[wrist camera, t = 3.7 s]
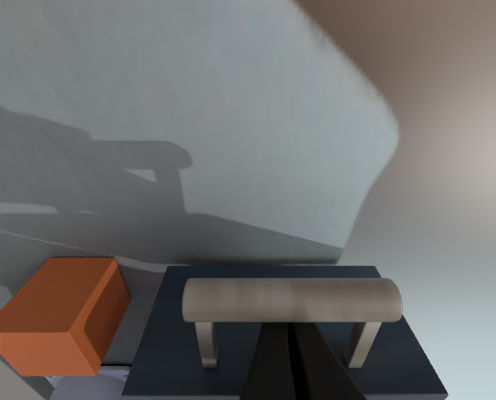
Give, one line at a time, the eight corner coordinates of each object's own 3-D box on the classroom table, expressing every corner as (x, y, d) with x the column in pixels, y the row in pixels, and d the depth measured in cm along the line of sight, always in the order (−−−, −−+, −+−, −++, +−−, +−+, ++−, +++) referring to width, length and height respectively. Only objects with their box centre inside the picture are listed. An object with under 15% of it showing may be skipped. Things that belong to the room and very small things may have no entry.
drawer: (152, 199, 13) (76, 321, 7) (398, 199, 13) (518, 321, 7) (191, 368, 22) (171, 483, 16) (337, 368, 22) (369, 483, 16)
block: (131, 299, 18) (95, 376, 14) (73, 299, 18) (20, 376, 14) (115, 257, 16) (67, 332, 12) (49, 257, 16) (-22, 332, 12)
